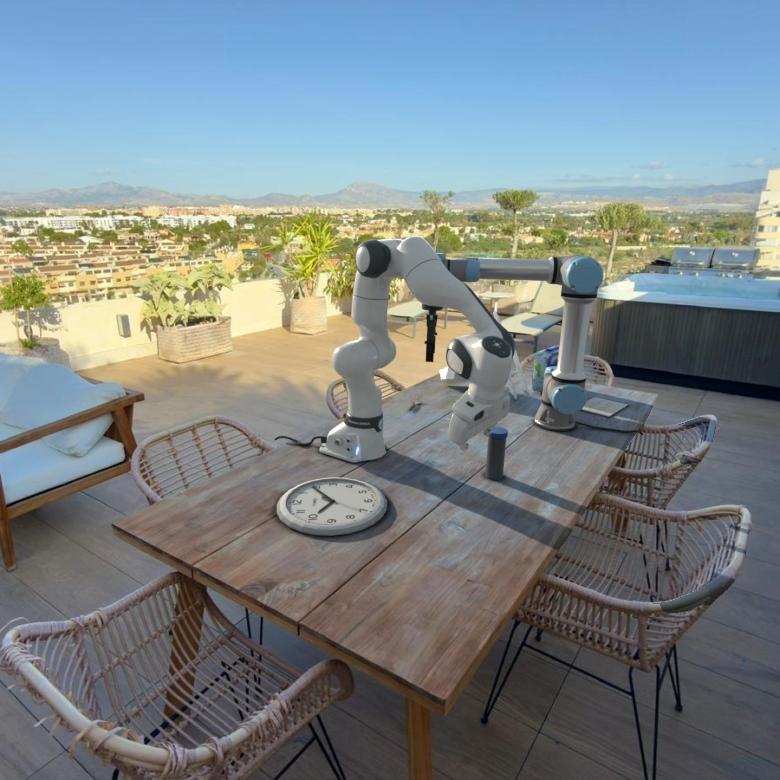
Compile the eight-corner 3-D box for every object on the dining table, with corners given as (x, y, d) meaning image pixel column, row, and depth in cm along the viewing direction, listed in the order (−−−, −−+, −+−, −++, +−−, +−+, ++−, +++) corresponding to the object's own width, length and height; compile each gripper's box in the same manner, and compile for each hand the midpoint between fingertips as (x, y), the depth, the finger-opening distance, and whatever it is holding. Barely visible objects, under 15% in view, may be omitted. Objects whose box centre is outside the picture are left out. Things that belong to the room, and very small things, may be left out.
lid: (483, 433, 159) (484, 427, 158) (500, 430, 161) (501, 425, 160) (494, 440, 154) (494, 435, 153) (511, 437, 156) (512, 432, 155)
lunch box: (548, 398, 236) (553, 353, 229) (527, 393, 243) (531, 349, 237) (575, 387, 253) (581, 344, 247) (555, 382, 260) (560, 341, 254)
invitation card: (608, 416, 214) (573, 407, 224) (608, 416, 214) (573, 408, 224) (628, 404, 229) (594, 396, 238) (628, 405, 229) (594, 397, 238)
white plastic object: (461, 429, 252) (437, 405, 227) (444, 352, 274) (420, 323, 250) (535, 404, 240) (518, 377, 215) (510, 326, 262) (492, 293, 237)
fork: (405, 411, 216) (405, 406, 215) (417, 400, 230) (417, 395, 230) (411, 412, 215) (411, 407, 214) (422, 400, 229) (422, 396, 229)
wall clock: (392, 527, 129) (268, 531, 127) (391, 533, 130) (269, 537, 127) (383, 473, 158) (282, 475, 155) (383, 478, 158) (282, 480, 156)
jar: (482, 473, 163) (485, 429, 158) (496, 471, 164) (500, 427, 160) (491, 481, 158) (494, 435, 154) (506, 478, 160) (510, 433, 155)
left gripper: (501, 379, 137) (491, 420, 145) (447, 407, 125) (440, 450, 134) (520, 390, 133) (509, 432, 142) (467, 421, 122) (458, 464, 130)
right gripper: (424, 293, 195) (422, 349, 202) (419, 302, 172) (417, 365, 178) (444, 294, 195) (441, 350, 201) (442, 303, 171) (439, 366, 177)
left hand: (475, 441), depth 137 cm, fingers open, 8 cm apart
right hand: (430, 357), depth 190 cm, fingers open, 13 cm apart
